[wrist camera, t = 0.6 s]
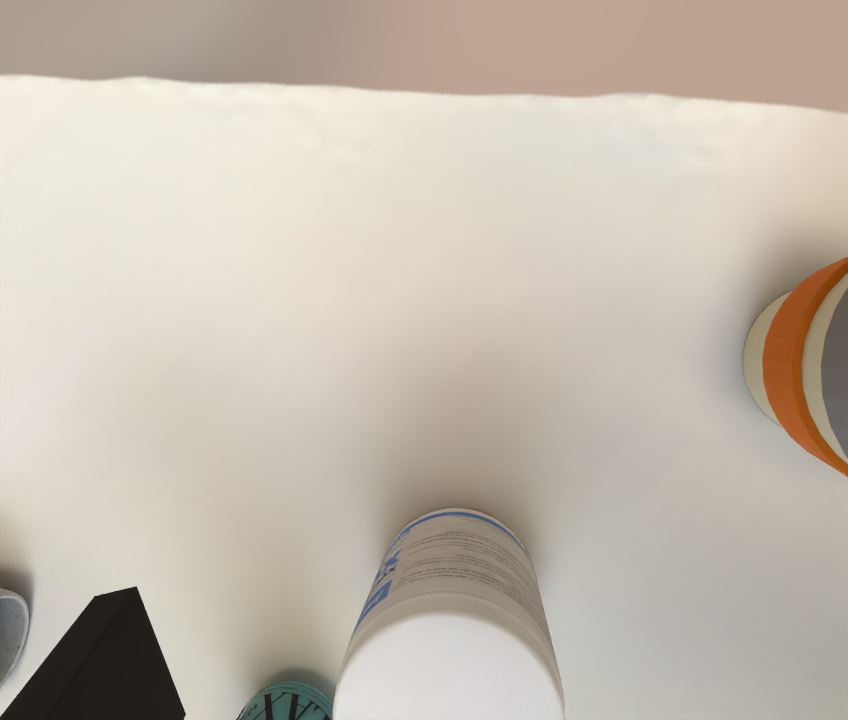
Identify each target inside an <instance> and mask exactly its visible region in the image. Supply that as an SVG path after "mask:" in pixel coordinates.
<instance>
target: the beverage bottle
mask: <svg viewBox="0 0 848 720" xmlns="http://www.w3.org/2000/svg"><path fill="white" fill-rule="evenodd" d="M264 689H265V688H264ZM262 690H263V689H262ZM260 691H261V690H260ZM260 691H259V692H260ZM256 694H257V693H256ZM250 699H251V698H250ZM252 699H253V698H252ZM252 699H251V700H252ZM249 702H250V701H249ZM246 705H247V703H246ZM245 708H246V707H245ZM245 708H244V709H245ZM244 709H243V710H242V711H241V713H240V714H239V717H237V719H236V720H238V719H239V718H240V716H241V714H242V713H243V711H244ZM239 720H333V704H332V702H331V701H330V700H329V698H328V697H327V696H326V695H325V694H324V693H322V692H321V691H320V690H318V689H317V688H315V687H313V686H311V685H309V684H306V683H302V682H297V681H286V682H280V683H277V684H274V685H272V686H269V687H266V689H265V690H263V691H262V692H260V693H259V694H258V695H256V697H254V699H253V700H252V701H251V702H250V704H249V705H248V707H247V708H246V710H245V711H244V713H243V715H242V716H241V718H240V719H239Z"/></svg>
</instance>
